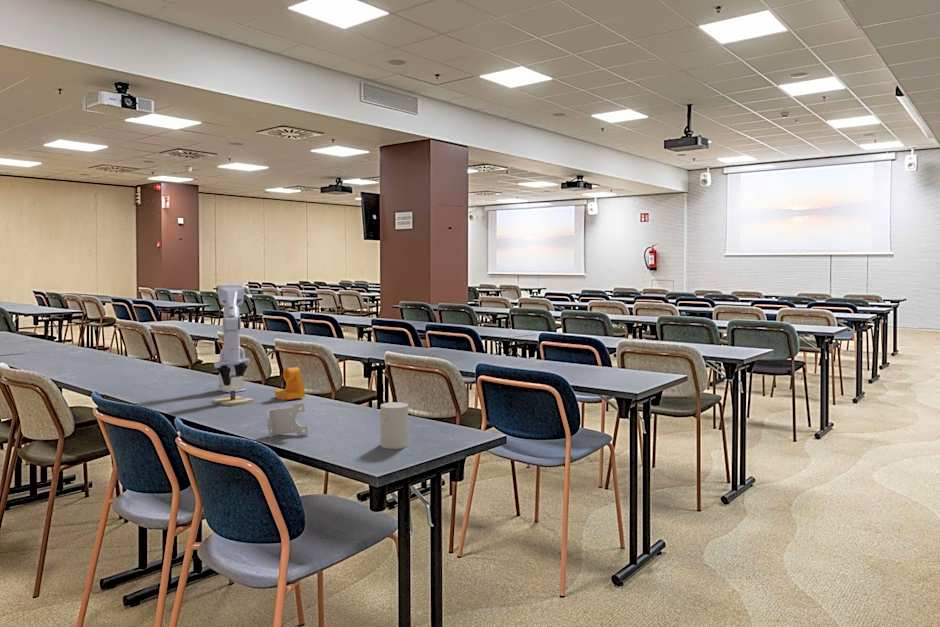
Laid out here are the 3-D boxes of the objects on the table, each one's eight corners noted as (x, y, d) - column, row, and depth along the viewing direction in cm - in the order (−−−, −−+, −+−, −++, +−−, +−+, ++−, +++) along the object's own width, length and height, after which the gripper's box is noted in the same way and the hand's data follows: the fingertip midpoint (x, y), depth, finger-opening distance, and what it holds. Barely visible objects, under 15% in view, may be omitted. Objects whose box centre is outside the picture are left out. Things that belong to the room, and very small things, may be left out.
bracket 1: (274, 397, 276) (273, 367, 275) (290, 395, 282) (289, 365, 281) (288, 401, 269) (288, 370, 268) (304, 398, 274) (304, 368, 273)
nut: (223, 389, 266) (223, 376, 265) (234, 387, 270) (234, 374, 269) (231, 390, 263) (231, 377, 262) (242, 388, 267) (242, 376, 266)
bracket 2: (269, 440, 215) (265, 408, 214) (275, 437, 219) (271, 406, 219) (304, 437, 213) (299, 405, 213) (309, 434, 218) (304, 402, 217)
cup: (381, 441, 211) (381, 402, 210) (408, 441, 212) (408, 402, 211) (379, 448, 203) (379, 408, 202) (407, 448, 203) (407, 407, 202)
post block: (211, 402, 266) (211, 386, 266) (234, 397, 274) (234, 382, 274) (231, 406, 259) (231, 390, 259) (253, 401, 267) (253, 386, 267)
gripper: (222, 351, 257) (222, 388, 258) (254, 347, 269) (255, 382, 270) (210, 350, 261) (211, 386, 262) (243, 346, 273) (243, 380, 274)
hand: (232, 384), depth 266 cm, fingers closed on nut, 5 cm apart
